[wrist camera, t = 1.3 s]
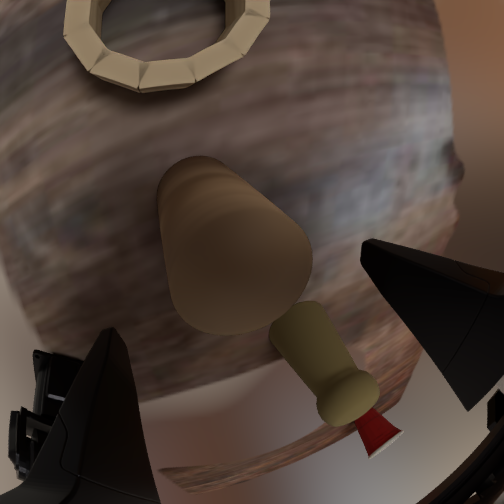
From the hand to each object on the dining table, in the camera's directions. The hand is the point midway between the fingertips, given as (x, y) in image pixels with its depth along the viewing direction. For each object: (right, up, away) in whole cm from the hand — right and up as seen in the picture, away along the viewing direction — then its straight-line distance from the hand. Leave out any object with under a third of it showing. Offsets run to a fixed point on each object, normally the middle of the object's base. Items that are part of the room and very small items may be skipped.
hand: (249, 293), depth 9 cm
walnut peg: (-3, +5, +8) cm, 10 cm away
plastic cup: (+28, -39, +48) cm, 68 cm away
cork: (+4, -6, +17) cm, 19 cm away
